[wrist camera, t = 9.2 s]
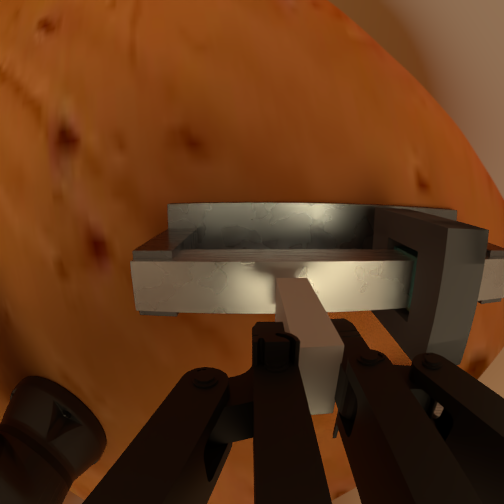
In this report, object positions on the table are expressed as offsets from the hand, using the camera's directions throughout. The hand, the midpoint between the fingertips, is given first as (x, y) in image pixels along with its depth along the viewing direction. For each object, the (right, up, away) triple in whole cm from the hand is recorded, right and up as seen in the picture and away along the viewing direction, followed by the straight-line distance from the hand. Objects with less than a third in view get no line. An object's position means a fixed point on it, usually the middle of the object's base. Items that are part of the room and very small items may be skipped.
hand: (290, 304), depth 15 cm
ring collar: (+9, +2, +8) cm, 12 cm away
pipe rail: (+4, +3, +11) cm, 12 cm away
